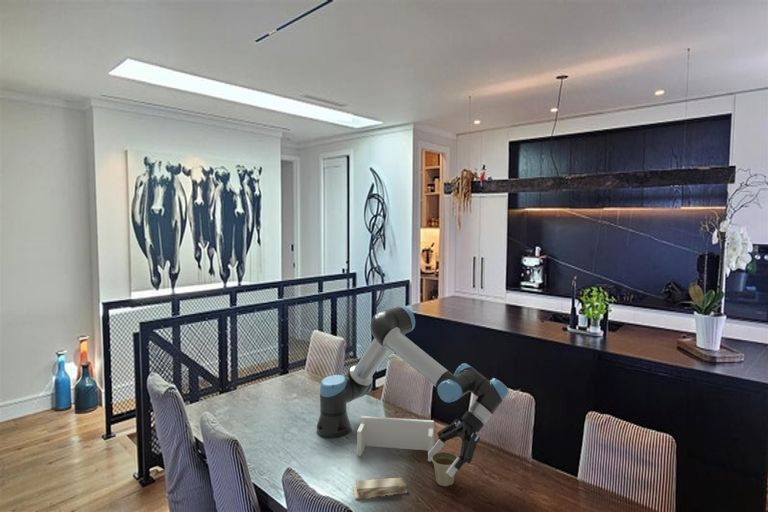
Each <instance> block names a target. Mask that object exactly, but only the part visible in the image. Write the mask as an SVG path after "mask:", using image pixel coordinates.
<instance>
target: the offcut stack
mask: <svg viewBox="0 0 768 512" xmlns="http://www.w3.org/2000/svg"><path fill="white" fill-rule="evenodd" d="M355 481H356V482H355V484H356V486H354V487H352V491H353V492H354V493H353V497H354V496H355V497H354V500H355V499H358V500H362V499H361V498H365V499H371V497H373V498H377V497H376V496H380V497H386V496H385V495H388V496H394V494H395V495H401V494H408V489H407V484H406V482H405V480H404V479H403V477H402V476H401V477H392V478H391V477H390V478H389V477H388V478H378V479H377V478H375V479H363V480H355Z"/></svg>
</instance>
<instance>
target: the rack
mask: <svg viewBox="0 0 768 512" xmlns="http://www.w3.org/2000/svg"><path fill="white" fill-rule="evenodd" d="M356 441H357V442H356V443H357V444H356V451H357V453H356V455H357V457H358V456H359V457H362V455H363V452H364V450H365V448H366V447H376V448H389V449H403V450H404V449H405V450H415V451H427V462H431V461H432V457H431V456H430V455H429V454H428V452H429V451H430V450H431V448H432V447H433V446H434V444H435V420H432V419H431V420H430V419H418V418H417V419H415V418H413V419H412V418H404V417H403V418H399V417H384V416H369V415H361V417H360V424H359V426H358V429H357V431H356ZM432 462H433V461H432Z"/></svg>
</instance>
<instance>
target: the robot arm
mask: <svg viewBox="0 0 768 512" xmlns="http://www.w3.org/2000/svg"><path fill="white" fill-rule="evenodd" d="M415 327H416V318H415V314H414V313H413V311H412V310H411V309H410V308H409V307H407V306H396V307H392V308H389V309H384V310H380V311H378V312H377V313H375V314H374V315H373V317H372V318H371V321H370V332H371V334H372V337H373V339H372V341H371V343H370V344H369V346H368V347H367V349H366V351H364V354H363V355H362V356H361V358H360V359H359V360H358V361H359V362H358V363H357V364H354V365H352V366H351V367H350V368H349V369H348V372H347V374H345V375H342V374H334V375H328V376H326V377H325V378H322V380H321V382H320V384H319V412H320V413H319V417H318V420H317V424H316V434H317V435H319V436H320V437H323V438H332V439H333V438H334V439H335V438H340V437H344V436H346V435H348V434H349V433H350V432H351V431H352V430H351V422H350V419H349V416H348V412H347V404H348V403H350V402H352V401H355V400H357V399H359V398H362V397H364V396H366V395H367V394H369V392H370V391H371V390H372V388H373V375H374V374H375V373H376V371H377V369H378V368H379V367H380V365H381V364H382V362H383V360H385V358H386V356H387V355H388V353H389V352H390V351H392V352H393V353H394V354H395V355H397V356H398V357H399V358H400V359H402V360H403V361H404V362H405V363H406V364H407V365H408V366H410V367H411V368H412V369H413V370H415V371H416V372H417V373H418V374H420V376H422V377H423V378H424V379H425V380H426V381H428V382H429V383H430V384H431V385H432V386H434V387H435V388H436V389H437V394H438V396H439V398H440V399H441V401H443V402H445V403H452V402H455V401H459V399H461V398H462V397H463V396H465V395H467V394H468V393H471V394H473V395H474V396H475V397H477V398H476V399H475V400H474V401H473V402H472V404H471V405H470V407H468V410H466V411H465V413H464V414H463V416H462V417H461V419H462V421H460V420H459V419H458V418H455V419H454V420H453V421H452V422H451V423H450V424H448V425H447V426H445V427H444V428H443V429H441V430H439V431H438V432H437V433H436V434H437V436H438V438H437V440H436V441H434V446H433V447H432V448H431V450H430V451H429V452H428V451H427V455H428V454H429V455H430V456H431V457H432V455H433V454H435V453H438V452H440V450H441V449H442V448H443V446H444V445H445V444H446V442H447V441H450V440H452V439H455V438H457V437H458V438H460V439H461V446H460V453H459V456H457V458H456V460H455V461H454V462H453V463H452V465H451V466H450V467H449V469H448V470H447V471H446V473H447V474H448V475H449V476H450V477H453V475H454V474H456V473H457V472H458V470H460V469H461V468H462V466H463V465H464V464H465V463H468V464H471V463H472V460H473V456H474V453H475V450H476V447H477V445H478V443H479V441H480V439H481V437H480V436H479V435H478V434H477V433H479V432H480V431H481V430H482V428H483V427H484V424H487V422H488V421H489V419H490V418H491V416H492V415H493V414H494V412H495V411H496V410H497V409H498V408H499V406H500V405H501V404H502V402H503V401H504V399H505V398H506V396H508V393H509V389H508V387H507V386H506V385H505V384H504V382H502V381H501V380H499V379H497V378H495V377H492V378H491V379H490V380H489V379H487V377H485V376H484V375H483V374H482V373H481V372H479V371H478V370H476V369H475V368H474V367H472V366H471V365H469V364H468V363H461V364H460V365H458V367H457V368H456V370H455V372H454V373H452V372H450V371H449V370H448V369H447V368H445V367H444V366H443V365H441V363H439V362H438V361H437V360H435V359H434V358H433V357H432V356H430V355H429V354H428V353H426V351H424V350H423V349H422V348H420V347H419V346H418V345H417V344H415V343H414V342H413V341H412V340H411V339H409V338H408V336H406V334H409V333H411V332H412V331H413V330H414V329H415ZM454 476H455V475H454Z"/></svg>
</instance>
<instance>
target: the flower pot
mask: <svg viewBox="0 0 768 512" xmlns="http://www.w3.org/2000/svg"><path fill="white" fill-rule="evenodd" d="M457 457H458V456H457V455H456V454H455V453H453V452H449V451H439V452H438V453H435V454H433V455H432V464H433V466H434V467H433V468H434V474H435V475H434V476H435V482H436V483H437V484H438V485H439V486H441V487H442V486H443V487H449V486H452V485H453V484H454V483H455V474H456V473H455V474H454V475H453V477H450V476H449V475H448V474H447V473H446V471H447V470H448V469H449V467H450V466H451V465H452V463H453V462H454V461H455V460H456V458H457Z"/></svg>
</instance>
